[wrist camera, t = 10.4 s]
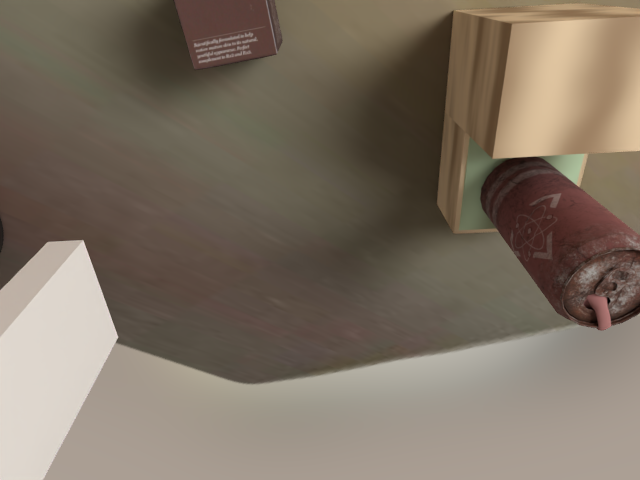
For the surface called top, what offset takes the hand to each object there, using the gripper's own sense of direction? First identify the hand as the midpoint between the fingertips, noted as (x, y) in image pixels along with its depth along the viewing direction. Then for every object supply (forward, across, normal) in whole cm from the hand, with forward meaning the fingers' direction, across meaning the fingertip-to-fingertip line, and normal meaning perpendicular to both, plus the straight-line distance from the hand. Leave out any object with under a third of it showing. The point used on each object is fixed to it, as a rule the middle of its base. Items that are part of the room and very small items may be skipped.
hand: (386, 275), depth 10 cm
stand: (+32, +15, -5) cm, 35 cm away
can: (+26, +15, -10) cm, 31 cm away
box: (+32, -7, +4) cm, 33 cm away
